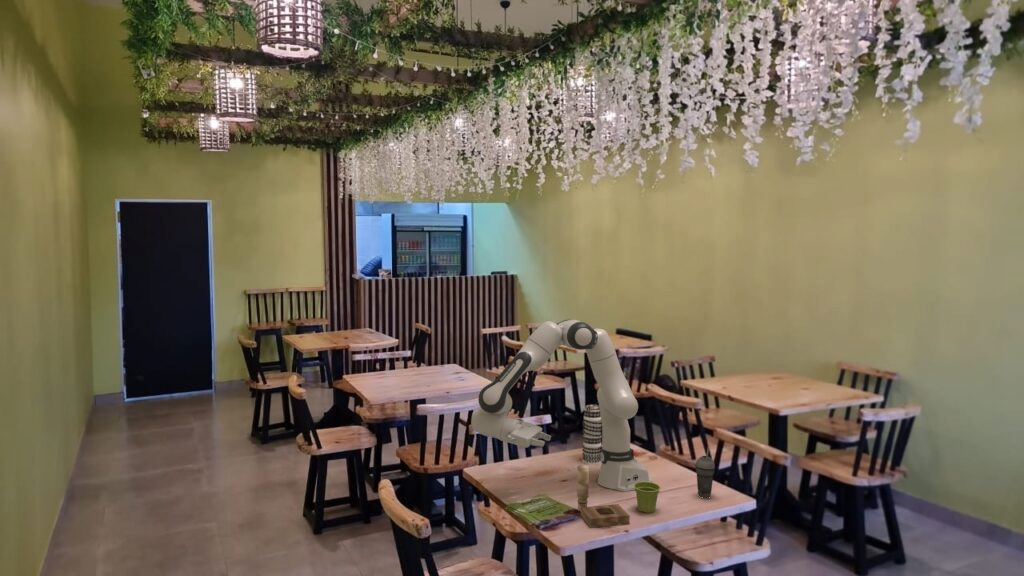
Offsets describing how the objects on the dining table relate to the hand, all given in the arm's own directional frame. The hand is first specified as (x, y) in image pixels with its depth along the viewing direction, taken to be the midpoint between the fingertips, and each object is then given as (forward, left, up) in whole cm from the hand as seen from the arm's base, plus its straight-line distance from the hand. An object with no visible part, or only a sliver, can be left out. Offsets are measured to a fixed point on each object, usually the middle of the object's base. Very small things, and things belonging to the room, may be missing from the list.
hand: (547, 441), depth 232 cm
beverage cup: (-61, +5, -24) cm, 66 cm away
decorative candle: (-33, -42, -24) cm, 58 cm away
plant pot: (-34, +12, -24) cm, 43 cm away
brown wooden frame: (-16, +17, -24) cm, 33 cm away
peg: (-11, +8, -24) cm, 27 cm away
